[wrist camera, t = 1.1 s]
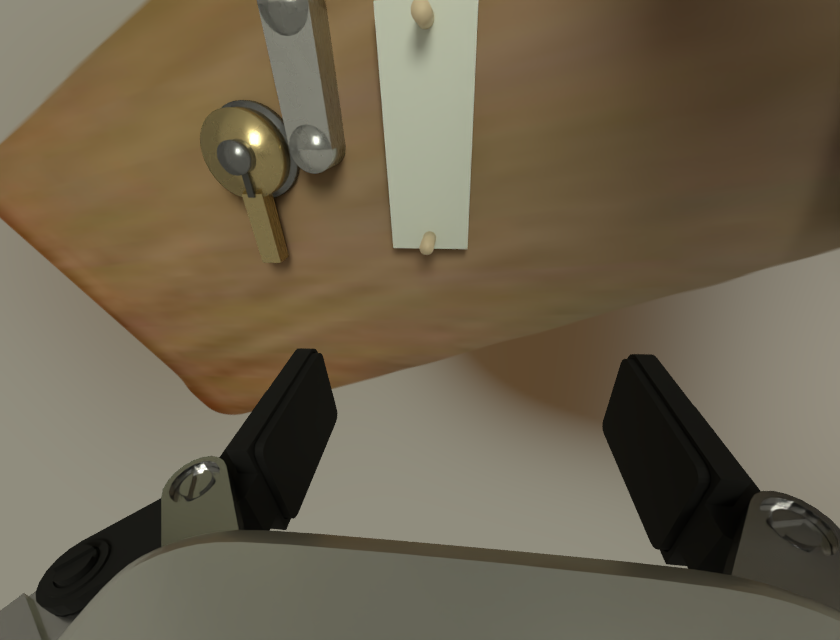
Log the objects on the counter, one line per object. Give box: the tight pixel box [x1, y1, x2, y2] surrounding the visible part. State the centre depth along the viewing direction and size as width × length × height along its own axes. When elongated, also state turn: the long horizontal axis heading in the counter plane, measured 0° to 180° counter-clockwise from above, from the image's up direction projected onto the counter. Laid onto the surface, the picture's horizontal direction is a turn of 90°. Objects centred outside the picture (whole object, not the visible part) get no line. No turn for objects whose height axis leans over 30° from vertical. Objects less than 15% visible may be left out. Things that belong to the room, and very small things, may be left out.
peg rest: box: [374, 0, 478, 255], centre depth 31 cm, size 20×8×5 cm, turn 2°
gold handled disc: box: [200, 107, 291, 263], centre depth 35 cm, size 15×8×3 cm, turn 2°
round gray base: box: [221, 100, 300, 197], centre depth 35 cm, size 9×9×1 cm
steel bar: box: [257, 0, 346, 174], centre depth 30 cm, size 4×14×4 cm, turn 2°
